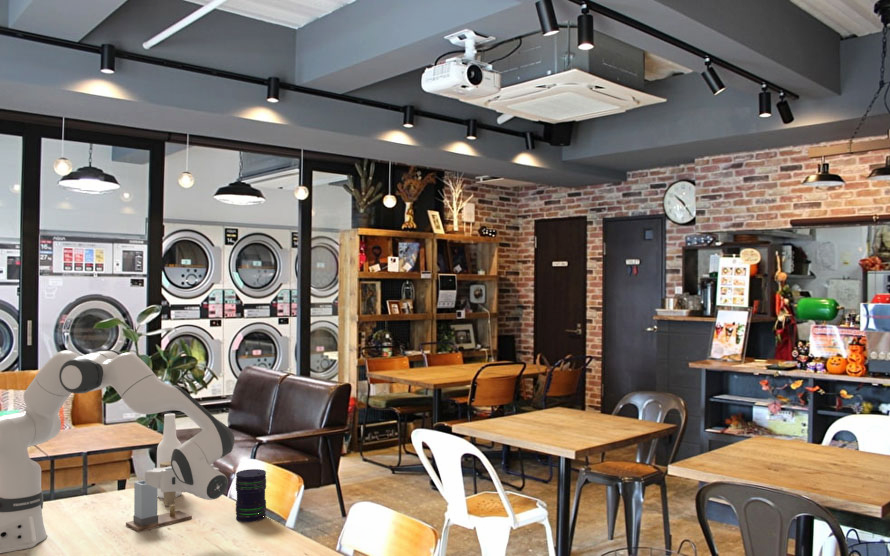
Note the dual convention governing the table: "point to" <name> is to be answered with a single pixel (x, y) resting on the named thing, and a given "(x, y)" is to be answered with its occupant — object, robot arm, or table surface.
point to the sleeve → (145, 504)
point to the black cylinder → (250, 495)
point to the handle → (168, 496)
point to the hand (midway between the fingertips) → (168, 468)
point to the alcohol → (167, 445)
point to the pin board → (162, 520)
